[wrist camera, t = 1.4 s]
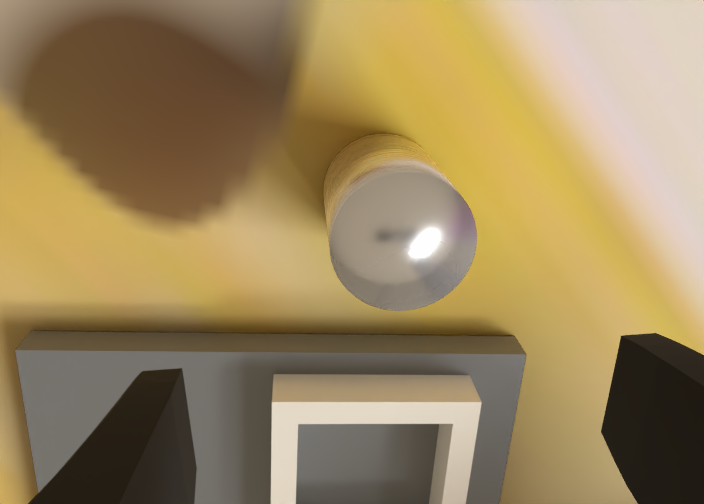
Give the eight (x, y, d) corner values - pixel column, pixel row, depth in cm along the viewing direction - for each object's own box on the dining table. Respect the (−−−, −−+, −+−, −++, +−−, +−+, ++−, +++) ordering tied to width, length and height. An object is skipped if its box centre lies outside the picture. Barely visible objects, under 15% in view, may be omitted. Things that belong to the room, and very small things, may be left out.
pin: (445, 135, 19) (486, 175, 15) (432, 247, 20) (467, 312, 16) (325, 130, 19) (333, 169, 15) (321, 244, 20) (326, 309, 16)
